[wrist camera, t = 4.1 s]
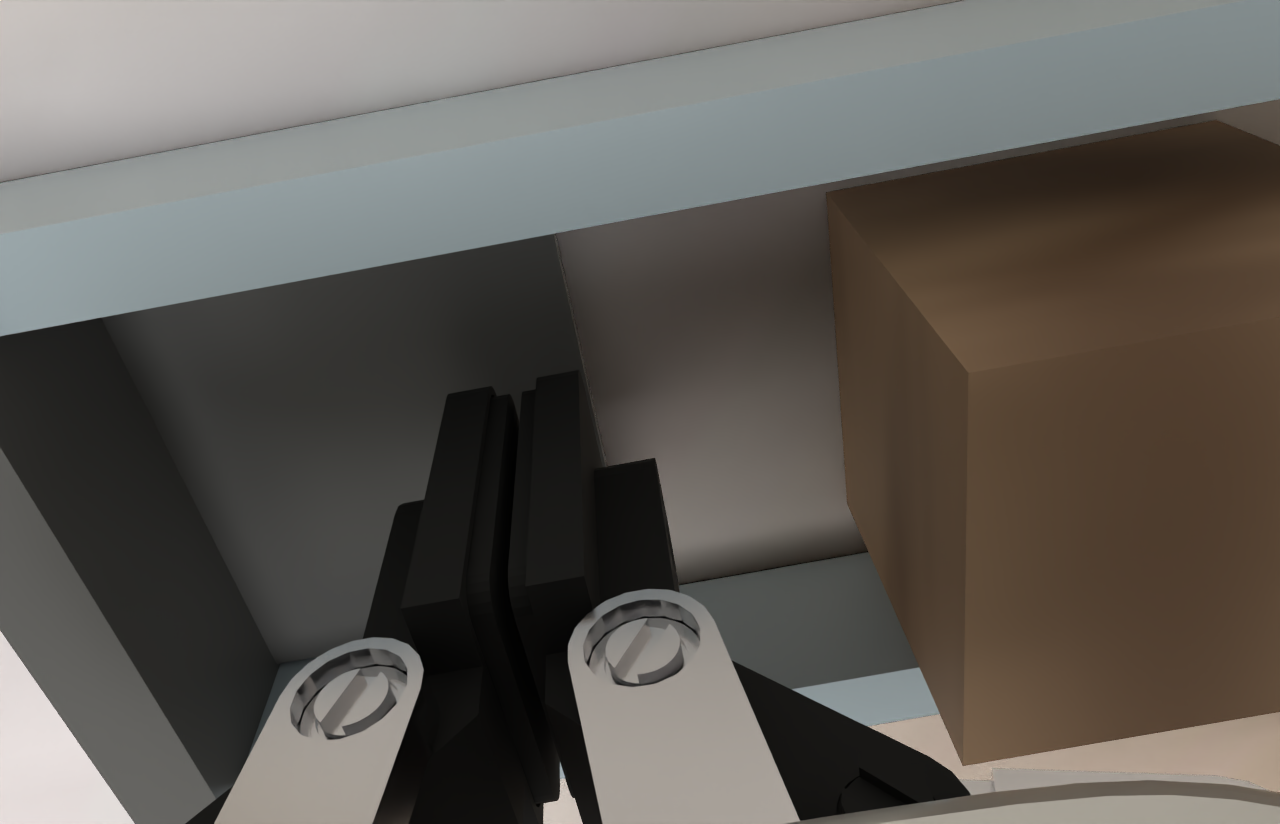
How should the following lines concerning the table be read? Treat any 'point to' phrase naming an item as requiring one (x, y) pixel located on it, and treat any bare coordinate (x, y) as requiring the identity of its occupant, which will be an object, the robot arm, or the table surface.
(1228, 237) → the walnut block
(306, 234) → the grey open frame
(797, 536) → the table surface
